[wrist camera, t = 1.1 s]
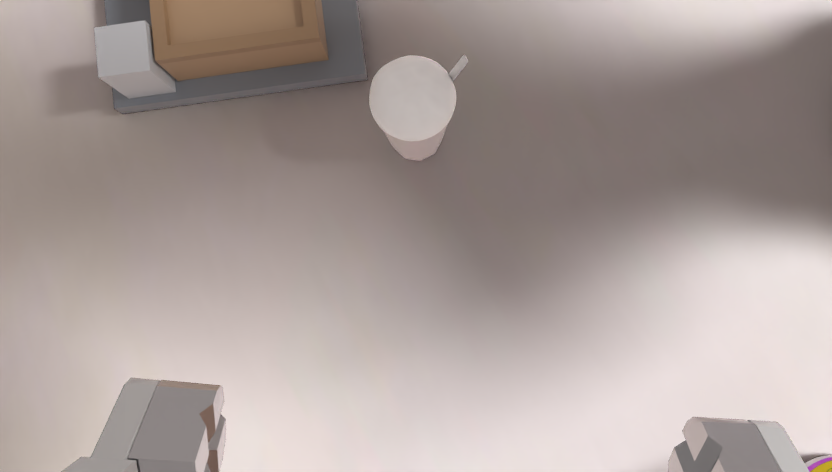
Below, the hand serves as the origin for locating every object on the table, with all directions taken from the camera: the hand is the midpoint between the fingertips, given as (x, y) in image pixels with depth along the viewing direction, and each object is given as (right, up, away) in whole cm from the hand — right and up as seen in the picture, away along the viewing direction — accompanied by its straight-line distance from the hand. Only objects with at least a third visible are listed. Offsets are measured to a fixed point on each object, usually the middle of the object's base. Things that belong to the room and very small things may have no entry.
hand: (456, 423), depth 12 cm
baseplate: (-13, +18, +33) cm, 40 cm away
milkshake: (0, +10, +32) cm, 34 cm away
